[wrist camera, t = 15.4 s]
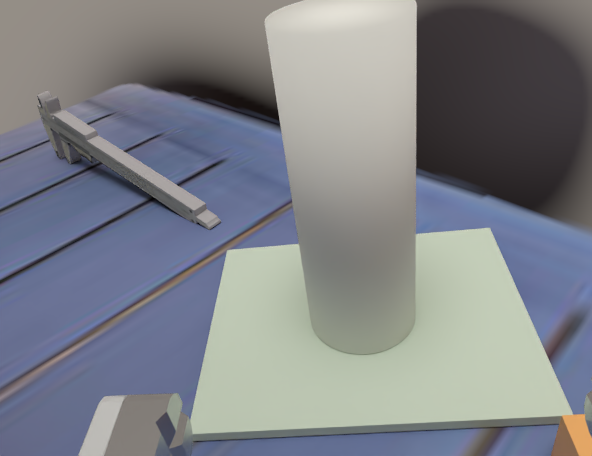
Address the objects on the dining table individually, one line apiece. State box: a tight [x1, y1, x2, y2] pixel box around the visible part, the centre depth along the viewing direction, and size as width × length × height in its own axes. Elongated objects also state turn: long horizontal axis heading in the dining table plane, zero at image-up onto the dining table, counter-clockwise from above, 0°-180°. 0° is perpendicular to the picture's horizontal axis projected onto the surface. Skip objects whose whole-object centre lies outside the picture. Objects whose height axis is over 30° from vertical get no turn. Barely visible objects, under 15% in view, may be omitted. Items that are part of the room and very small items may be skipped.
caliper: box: [37, 91, 221, 229], centre depth 39 cm, size 20×1×6 cm, turn 49°
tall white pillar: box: [265, 0, 417, 354], centre depth 22 cm, size 5×5×14 cm
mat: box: [190, 228, 573, 441], centre depth 26 cm, size 15×12×1 cm
